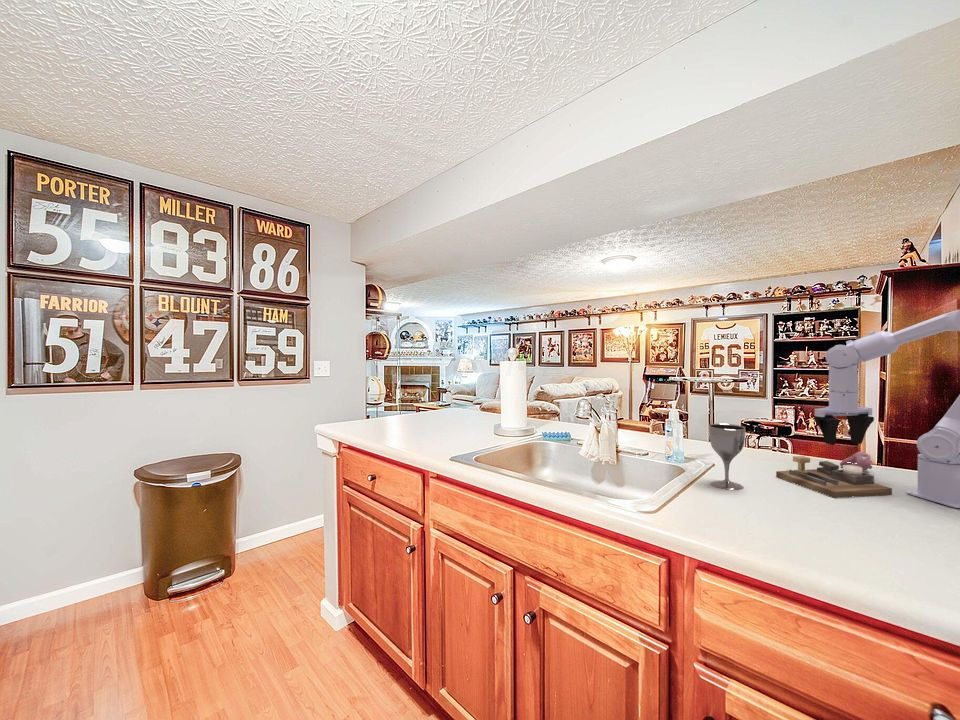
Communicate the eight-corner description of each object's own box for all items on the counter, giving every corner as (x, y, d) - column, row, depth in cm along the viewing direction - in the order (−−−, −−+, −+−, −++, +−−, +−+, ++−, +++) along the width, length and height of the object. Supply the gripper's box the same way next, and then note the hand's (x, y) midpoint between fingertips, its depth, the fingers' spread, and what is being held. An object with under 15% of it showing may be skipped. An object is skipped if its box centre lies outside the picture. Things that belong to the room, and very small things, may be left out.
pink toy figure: (862, 483, 108) (878, 461, 106) (841, 473, 110) (857, 451, 108) (856, 474, 116) (872, 453, 113) (837, 464, 118) (852, 444, 116)
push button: (866, 476, 99) (866, 468, 99) (853, 477, 98) (853, 469, 98) (851, 472, 102) (851, 464, 102) (838, 473, 102) (838, 465, 102)
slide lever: (810, 475, 104) (810, 458, 104) (800, 475, 104) (800, 458, 104) (802, 472, 107) (802, 455, 107) (792, 472, 106) (792, 456, 106)
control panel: (891, 494, 95) (892, 479, 95) (834, 498, 93) (834, 483, 93) (826, 474, 111) (826, 461, 111) (776, 476, 109) (776, 463, 109)
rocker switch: (838, 469, 106) (839, 466, 105) (830, 470, 105) (830, 466, 105) (826, 464, 109) (827, 461, 109) (818, 465, 108) (819, 461, 108)
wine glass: (709, 487, 101) (709, 428, 101) (708, 478, 108) (708, 422, 108) (747, 492, 98) (747, 430, 97) (743, 482, 105) (743, 424, 104)
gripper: (853, 389, 110) (853, 439, 110) (804, 390, 109) (804, 441, 109) (881, 391, 103) (881, 445, 103) (829, 393, 102) (829, 447, 102)
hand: (843, 443), depth 106 cm, fingers open, 7 cm apart
